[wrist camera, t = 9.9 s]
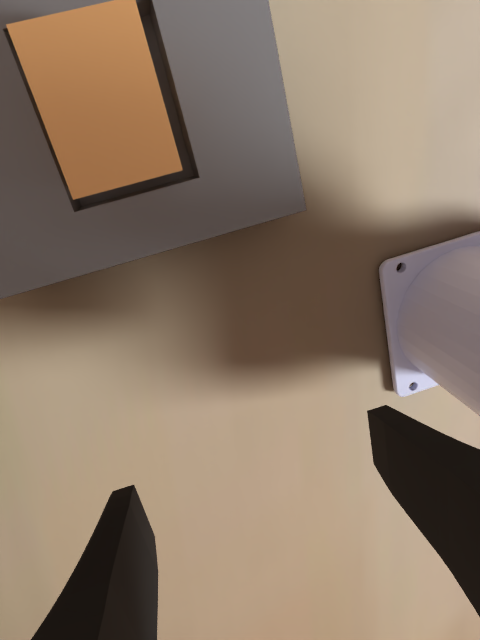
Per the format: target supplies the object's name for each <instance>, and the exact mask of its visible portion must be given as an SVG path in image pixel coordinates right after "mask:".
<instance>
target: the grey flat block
mask: <svg viewBox="0 0 480 640" xmlns="http://www.w3.org/2000/svg"><path fill="white" fill-rule="evenodd" d="M109 1H113V0H0V299H2V298H6V297H9V296H12V295H16V294H19V293H23V292H26V291H30V290H33V289H36V288H40V287H43V286H47V285H50V284H54V283H57V282H61V281H64V280H67V279H71V278H74V277H78V276H81V275H85V274H88V273H92V272H95V271H98V270H102V269H105V268H109V267H112V266H116V265H119V264H123V263H126V262H129V261H133V260H136V259H140V258H143V257H147V256H150V255H154V254H157V253H160V252H164V251H167V250H171V249H174V248H178V247H181V246H185V245H188V244H191V243H195V242H198V241H202V240H205V239H209V238H212V237H216V236H219V235H222V234H226V233H229V232H233V231H236V230H240V229H243V228H247V227H250V226H253V225H257V224H260V223H264V222H267V221H271V220H274V219H278V218H281V217H284V216H288V215H291V214H295V213H298V212H302V211H305V210H306V205H305V199H304V194H303V188H302V183H301V177H300V172H299V166H298V161H297V155H296V150H295V144H294V139H293V133H292V128H291V122H290V117H289V111H288V106H287V100H286V95H285V89H284V84H283V78H282V73H281V67H280V62H279V56H278V51H277V45H276V40H275V34H274V29H273V23H272V18H271V12H270V7H269V1H268V0H136V4H137V8H138V11H139V15H140V18H141V22H142V25H143V29H144V33H145V36H146V40H147V43H148V47H149V51H150V54H151V58H152V61H153V65H154V68H155V72H156V76H157V79H158V83H159V86H160V90H161V93H162V97H163V101H164V104H165V108H166V111H167V115H168V119H169V122H170V126H171V129H172V133H173V136H174V140H175V144H176V147H177V151H178V154H179V158H180V162H181V165H182V169H183V170H182V171H178V172H175V173H171V174H167V175H164V176H160V177H156V178H152V179H149V180H145V181H141V182H138V183H134V184H130V185H126V186H123V187H119V188H115V189H112V190H108V191H104V192H100V193H97V194H93V195H89V196H86V197H82V198H78V199H74V200H73V198H72V196H71V193H70V190H69V188H68V185H67V183H66V180H65V177H64V175H63V172H62V170H61V167H60V164H59V162H58V159H57V157H56V154H55V151H54V149H53V146H52V143H51V141H50V138H49V136H48V133H47V130H46V128H45V125H44V123H43V120H42V117H41V115H40V112H39V110H38V107H37V104H36V102H35V99H34V97H33V94H32V91H31V89H30V86H29V84H28V81H27V78H26V76H25V73H24V70H23V68H22V65H21V63H20V60H19V57H18V55H17V52H16V50H15V47H14V44H13V42H12V39H11V37H10V34H9V31H8V29H7V26H6V24H11V23H15V22H20V21H24V20H28V19H33V18H37V17H42V16H46V15H51V14H55V13H60V12H64V11H69V10H73V9H77V8H82V7H86V6H91V5H95V4H100V3H104V2H109Z"/></svg>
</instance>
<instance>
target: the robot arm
mask: <svg viewBox="0 0 480 640" xmlns="http://www.w3.org/2000/svg"><path fill="white" fill-rule="evenodd" d="M399 263H401V264H402V267H401V269H400V270H398V271H397V270H396V267H397V265H398V264H399ZM379 276H380V284H381V292H382V300H383V308H384V316H385V324H386V332H387V340H388V349H389V357H390V365H391V373H392V381H393V389H394V392H395V393H396V394H397V395H399V396H401V397H405V396H408V395H411V394H414V393H417V392H420V391H422V390H425V389H428V388H431V387H434V386H437V385H440V386H441V387H443V388H444V389H445V390H447V391H448V392H449V393H451V394H452V395H453V396H454V397H456V398H457V399H458V400H460V401H461V402H462V403H464V404H465V405H466V406H468V407H469V408H470V409H471V410H473V411H474V412H475V413H477V414H478V415H479V416H480V231H478V232H475V233H471V234H468V235H465V236H462V237H458V238H455V239H452V240H449V241H445V242H442V243H439V244H436V245H433V246H429V247H426V248H423V249H420V250H416V251H413V252H410V253H407V254H403V255H400V256H397V257H394V258H390V259H387V260H385V261H384V262H383V263H382V264H381V265H380V268H379ZM413 382H414V383H413ZM411 383H413V385H412V386H411V387H409V386H410V384H411ZM367 413H368V421H369V429H370V437H371V445H372V453H373V462H374V465H375V467H376V468H377V470H378V472H379V473H380V475H381V477H382V479H383V480H384V482H385V484H386V485H387V487H388V489H389V490H390V492H391V493H392V495H393V496H394V497H395V499H396V500H397V501H398V503H399V504H400V505H401V507H402V508H403V509H404V510H405V512H406V513H407V514H408V516H409V517H410V518H411V520H412V521H413V522H414V523H415V525H416V526H417V527H418V529H419V530H420V531H421V532H422V534H423V535H424V536H425V538H426V539H427V540H428V541H429V543H430V544H431V545H432V547H433V548H434V549H435V550H436V552H437V553H438V554H439V556H440V557H441V558H442V560H443V561H444V562H445V564H446V565H447V567H448V568H449V569H450V571H451V572H452V574H453V575H454V577H455V579H456V580H457V582H458V583H459V585H460V586H461V588H462V590H463V591H464V593H465V594H466V596H467V597H468V599H469V601H470V602H471V604H472V605H473V607H474V608H475V610H476V612H477V613H478V615H479V617H480V449H477V448H475V447H472V446H470V445H468V444H465V443H463V442H461V441H458V440H456V439H454V438H452V437H449V436H447V435H445V434H443V433H441V432H439V431H437V430H435V429H433V428H431V427H429V426H426V425H424V424H422V423H421V422H419V421H417V420H415V419H413V418H411V417H409V416H407V415H405V414H403V413H401V412H399V411H397V410H395V409H393V408H391V407H389V406H387V405H385V406H381V407H378V408H375V409H372V410H369V411H367ZM157 611H158V565H157V554H156V545H155V536H154V533H153V531H152V528H151V526H150V523H149V521H148V518H147V516H146V513H145V511H144V508H143V506H142V503H141V501H140V498H139V496H138V494H137V491H136V489H135V486H134V485H131V486H128V487H125V488H122V489H119V490H116V491H113V492H112V494H111V495H110V497H109V500H108V502H107V504H106V506H105V509H104V511H103V513H102V515H101V517H100V520H99V522H98V524H97V526H96V528H95V530H94V532H93V534H92V536H91V538H90V540H89V542H88V544H87V546H86V548H85V550H84V552H83V554H82V556H81V558H80V560H79V562H78V564H77V566H76V568H75V569H74V571H73V573H72V575H71V576H70V578H69V580H68V582H67V584H66V585H65V587H64V589H63V591H62V592H61V594H60V596H59V597H58V599H57V601H56V602H55V604H54V606H53V607H52V609H51V610H50V612H49V614H48V615H47V617H46V618H45V620H44V621H43V623H42V624H41V626H40V627H39V629H38V630H37V632H36V633H35V635H34V636H33V637H32V639H31V640H157Z"/></svg>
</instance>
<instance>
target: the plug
mask: <svg viewBox="0 0 480 640" xmlns="http://www.w3.org/2000/svg"><path fill="white" fill-rule="evenodd" d="M6 26H7V29H8V31H9V34H10V37H11V39H12V42H13V44H14V47H15V50H16V52H17V55H18V57H19V60H20V63H21V65H22V68H23V70H24V73H25V76H26V78H27V81H28V84H29V86H30V89H31V91H32V94H33V97H34V99H35V102H36V104H37V107H38V110H39V112H40V115H41V117H42V120H43V123H44V125H45V128H46V130H47V133H48V136H49V138H50V141H51V143H52V146H53V149H54V151H55V154H56V157H57V159H58V162H59V164H60V167H61V170H62V172H63V175H64V177H65V180H66V183H67V185H68V188H69V190H70V193H71V196H72V198H73V200H74V199H78V198H82V197H86V196H89V195H93V194H97V193H100V192H104V191H108V190H112V189H115V188H119V187H123V186H126V185H130V184H134V183H138V182H141V181H145V180H149V179H152V178H156V177H160V176H164V175H167V174H171V173H175V172H178V171H182V170H183V169H182V165H181V162H180V158H179V154H178V151H177V147H176V144H175V140H174V136H173V133H172V129H171V126H170V122H169V119H168V115H167V111H166V108H165V104H164V101H163V97H162V93H161V90H160V86H159V83H158V79H157V76H156V72H155V68H154V65H153V61H152V58H151V54H150V51H149V47H148V43H147V40H146V36H145V33H144V29H143V25H142V22H141V18H140V15H139V11H138V8H137V4H136V0H113V1H109V2H104V3H100V4H95V5H91V6H86V7H82V8H77V9H73V10H69V11H64V12H60V13H55V14H51V15H46V16H42V17H37V18H33V19H28V20H24V21H20V22H15V23H11V24H6Z"/></svg>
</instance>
